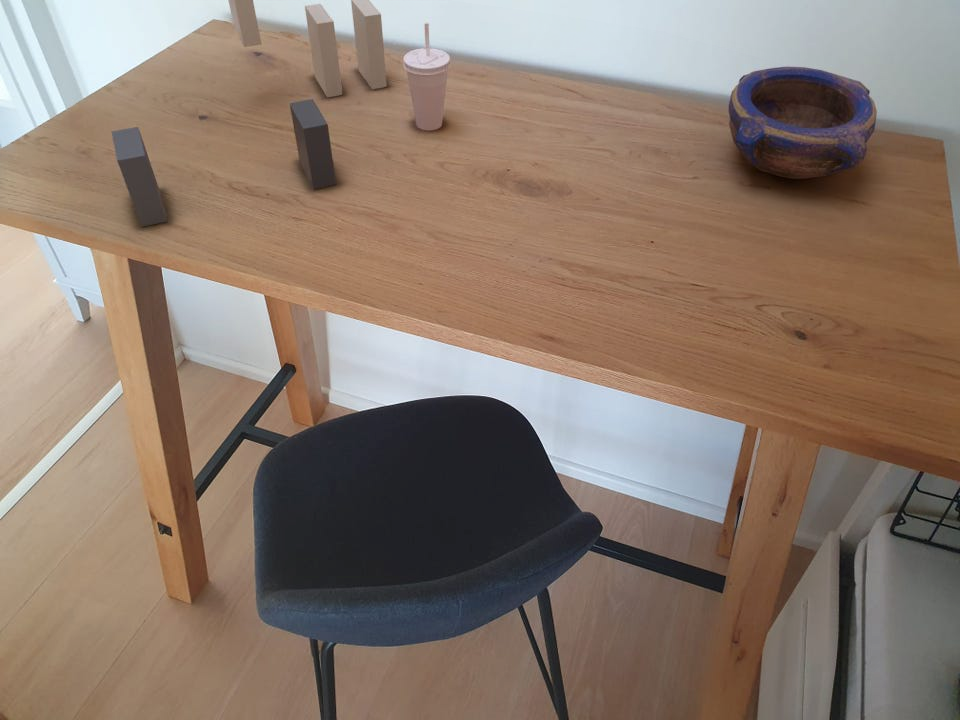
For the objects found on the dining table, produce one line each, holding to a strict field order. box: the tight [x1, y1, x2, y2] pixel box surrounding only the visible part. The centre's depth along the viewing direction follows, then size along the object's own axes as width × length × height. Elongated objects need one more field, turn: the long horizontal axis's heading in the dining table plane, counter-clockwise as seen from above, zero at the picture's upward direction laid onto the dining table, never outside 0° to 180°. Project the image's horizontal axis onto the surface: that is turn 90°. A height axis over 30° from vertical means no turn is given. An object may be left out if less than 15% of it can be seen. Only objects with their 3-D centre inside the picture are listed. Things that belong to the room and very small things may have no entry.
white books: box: [304, 0, 388, 98], centre depth 115 cm, size 9×7×11 cm
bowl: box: [728, 66, 878, 180], centre depth 100 cm, size 18×18×10 cm
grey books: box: [111, 98, 337, 228], centre depth 94 cm, size 24×7×9 cm, turn 113°
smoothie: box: [402, 22, 451, 132], centre depth 105 cm, size 6×6×14 cm
